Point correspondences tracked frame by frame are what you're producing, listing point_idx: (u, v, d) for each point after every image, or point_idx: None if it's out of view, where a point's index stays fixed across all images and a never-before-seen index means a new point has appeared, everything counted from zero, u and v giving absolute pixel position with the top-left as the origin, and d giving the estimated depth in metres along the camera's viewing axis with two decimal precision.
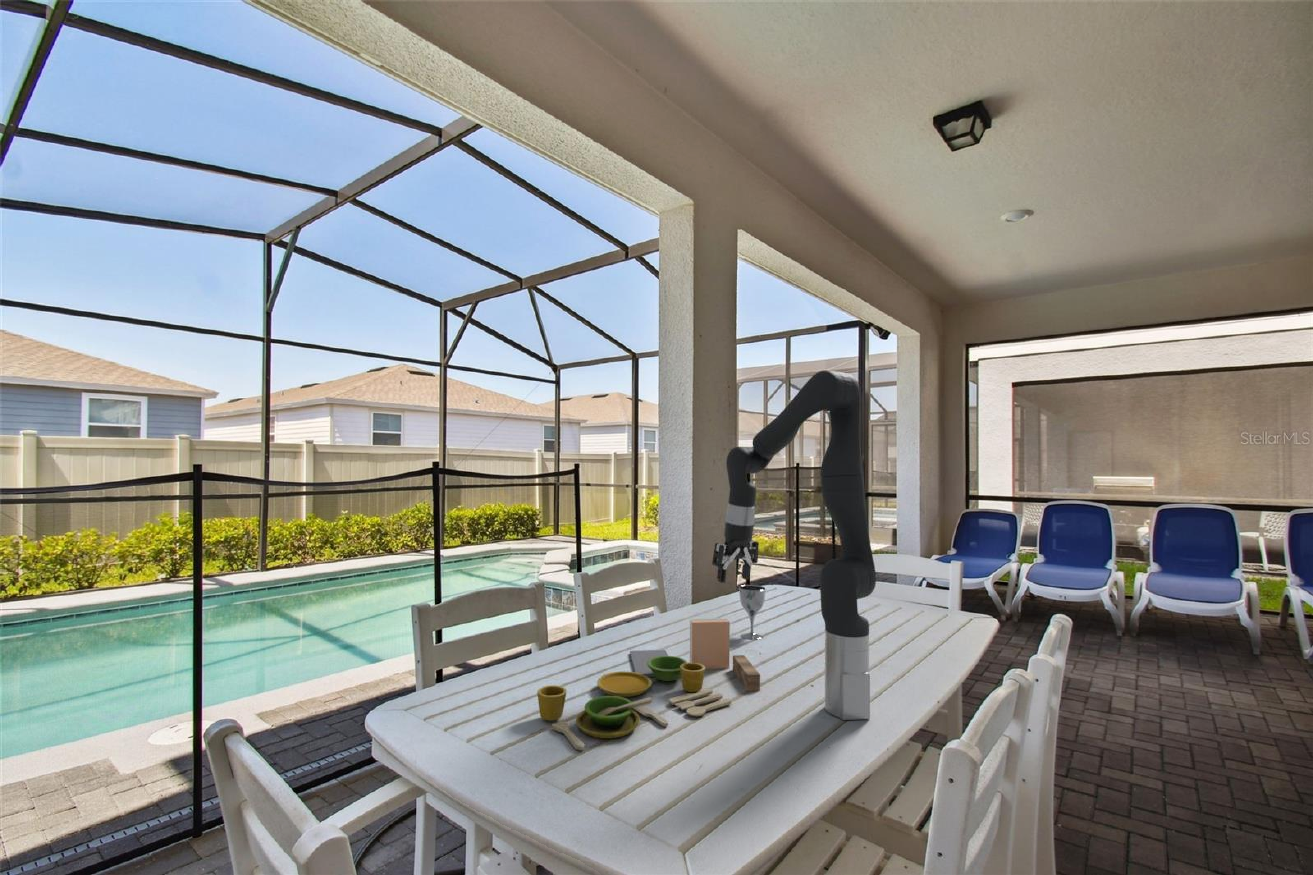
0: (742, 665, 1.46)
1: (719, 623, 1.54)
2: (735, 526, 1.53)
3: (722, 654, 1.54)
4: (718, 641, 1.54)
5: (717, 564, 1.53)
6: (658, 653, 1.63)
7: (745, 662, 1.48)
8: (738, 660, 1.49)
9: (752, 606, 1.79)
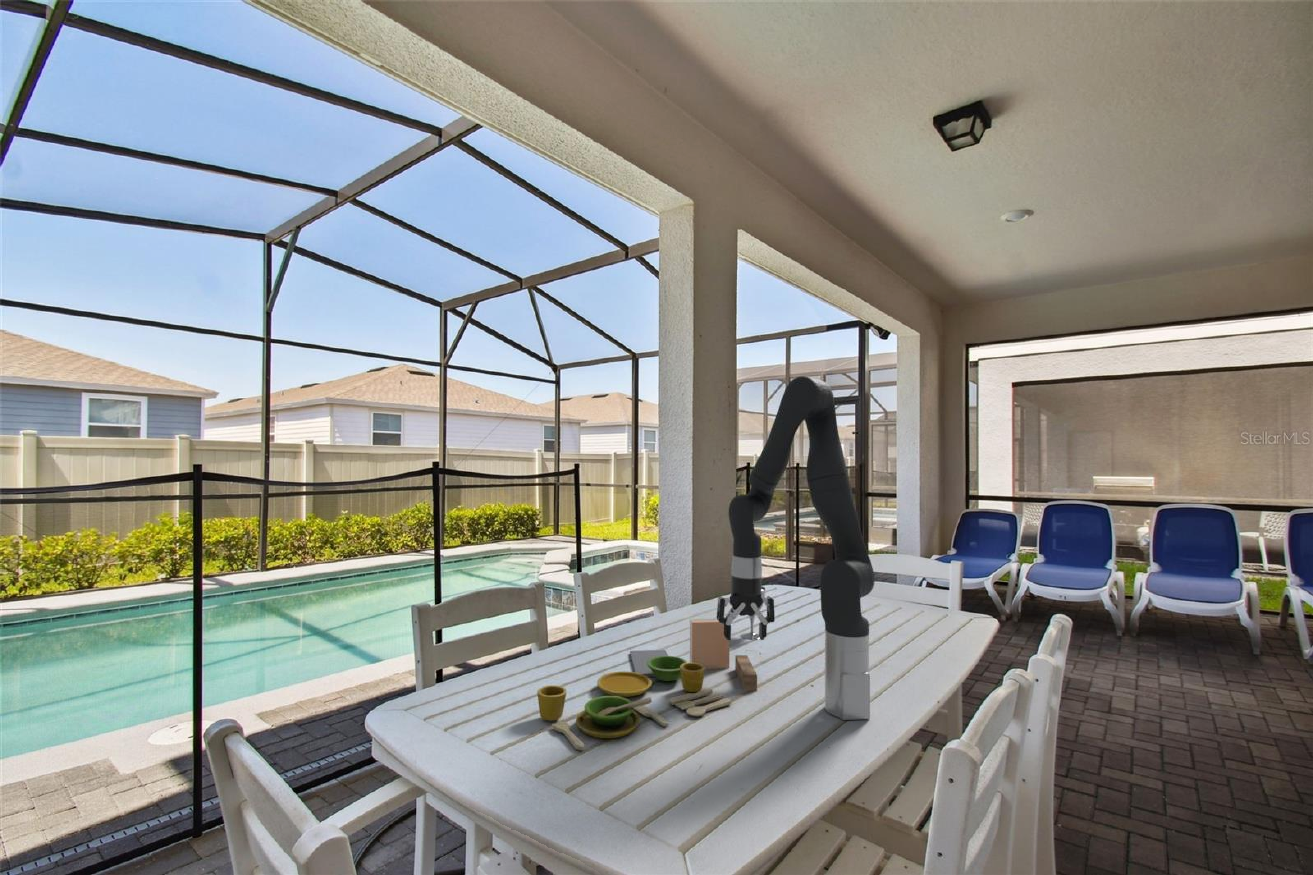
0: (742, 665, 1.46)
1: (719, 623, 1.54)
2: (736, 578, 1.45)
3: (722, 654, 1.54)
4: (718, 641, 1.54)
5: (718, 619, 1.45)
6: (658, 653, 1.63)
7: (745, 662, 1.47)
8: (739, 660, 1.49)
9: None
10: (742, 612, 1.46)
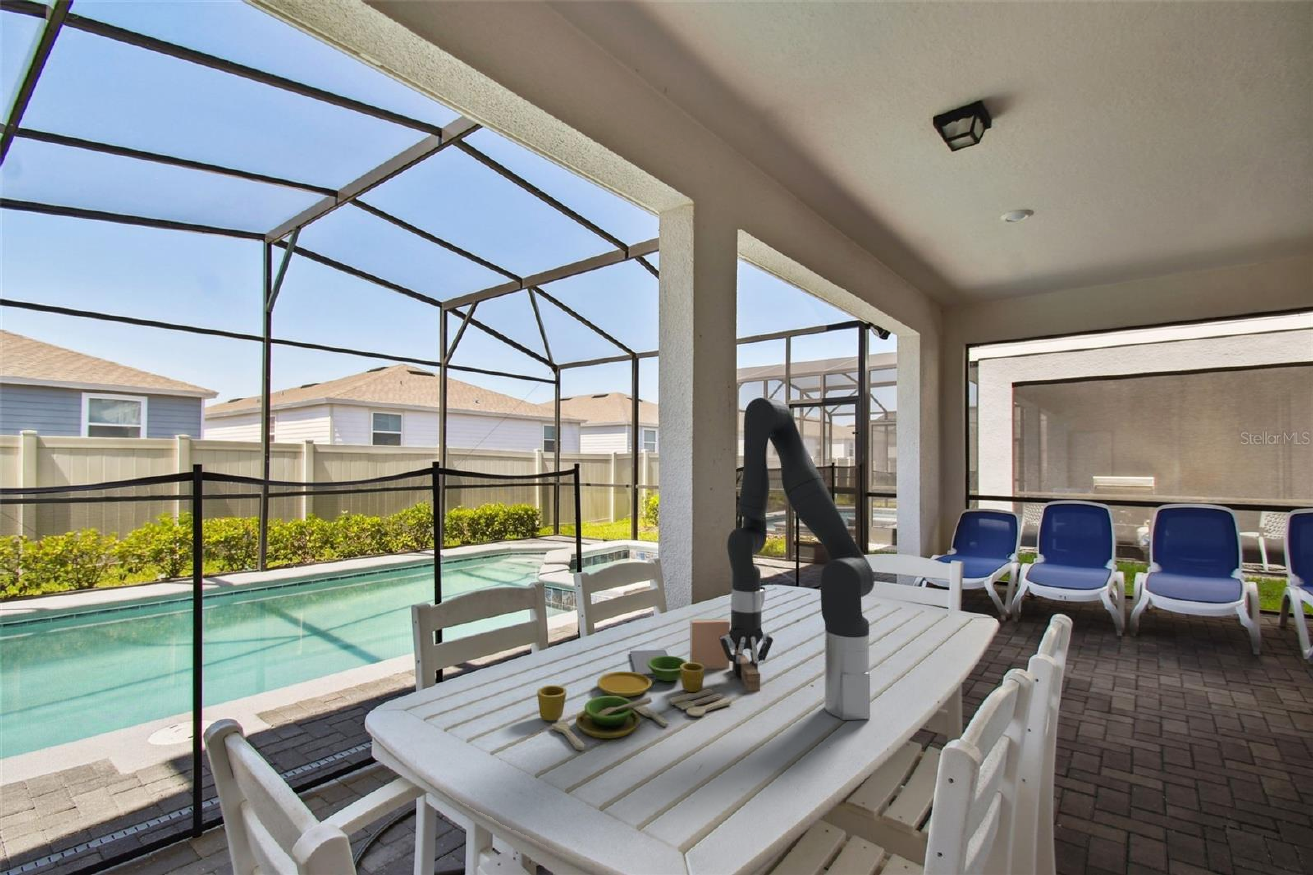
0: (742, 664, 1.46)
1: (719, 623, 1.54)
2: (735, 612, 1.44)
3: (722, 654, 1.54)
4: (718, 641, 1.54)
5: None
6: (658, 653, 1.63)
7: (745, 662, 1.48)
8: None
9: None
10: None
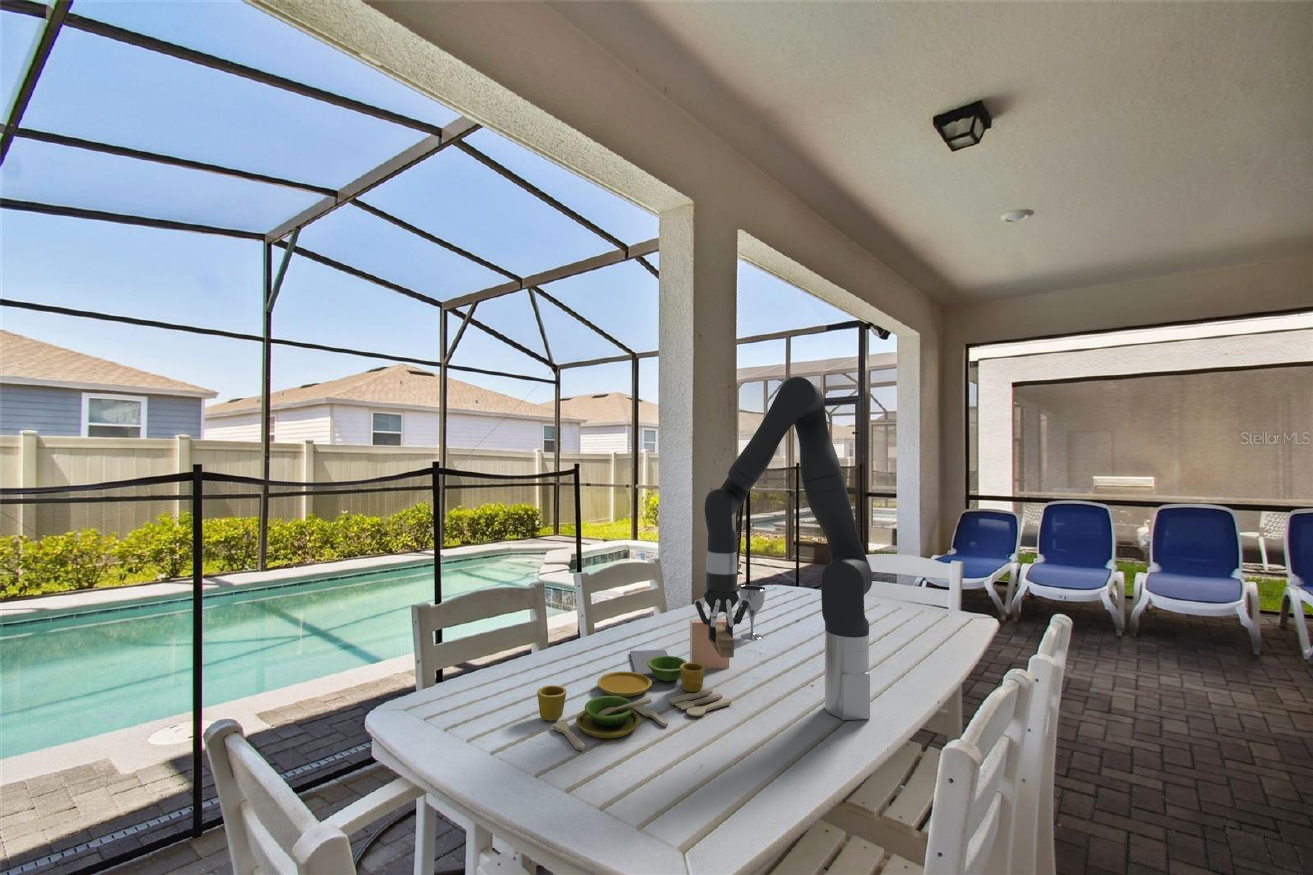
0: (717, 631, 1.43)
1: None
2: (710, 575, 1.42)
3: None
4: None
5: (702, 620, 1.42)
6: (658, 653, 1.63)
7: (720, 629, 1.45)
8: None
9: (752, 606, 1.79)
10: None
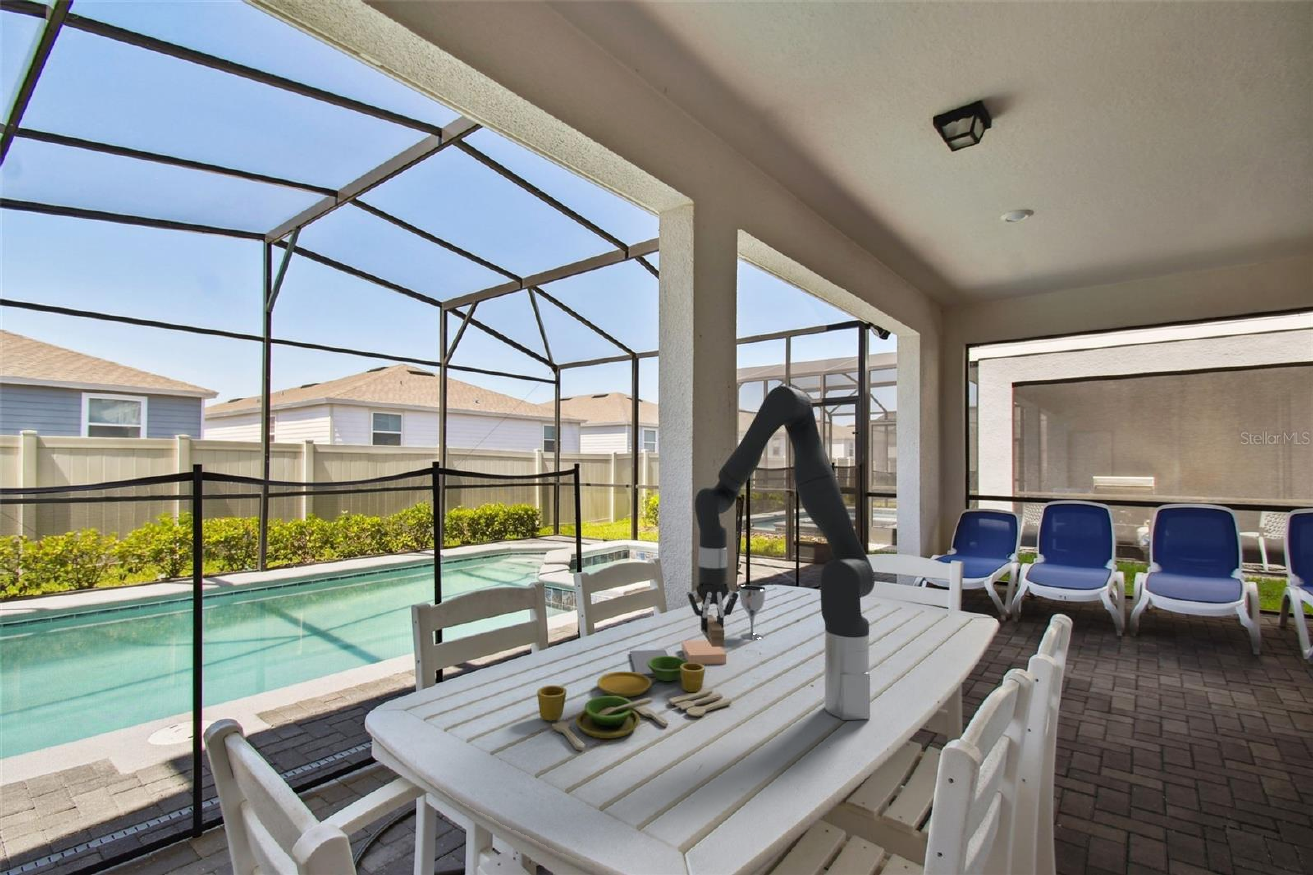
0: (708, 622, 1.52)
1: (707, 641, 1.69)
2: (702, 568, 1.51)
3: (716, 650, 1.61)
4: (710, 646, 1.64)
5: (695, 612, 1.51)
6: (658, 653, 1.63)
7: (711, 620, 1.54)
8: None
9: (752, 606, 1.79)
10: None
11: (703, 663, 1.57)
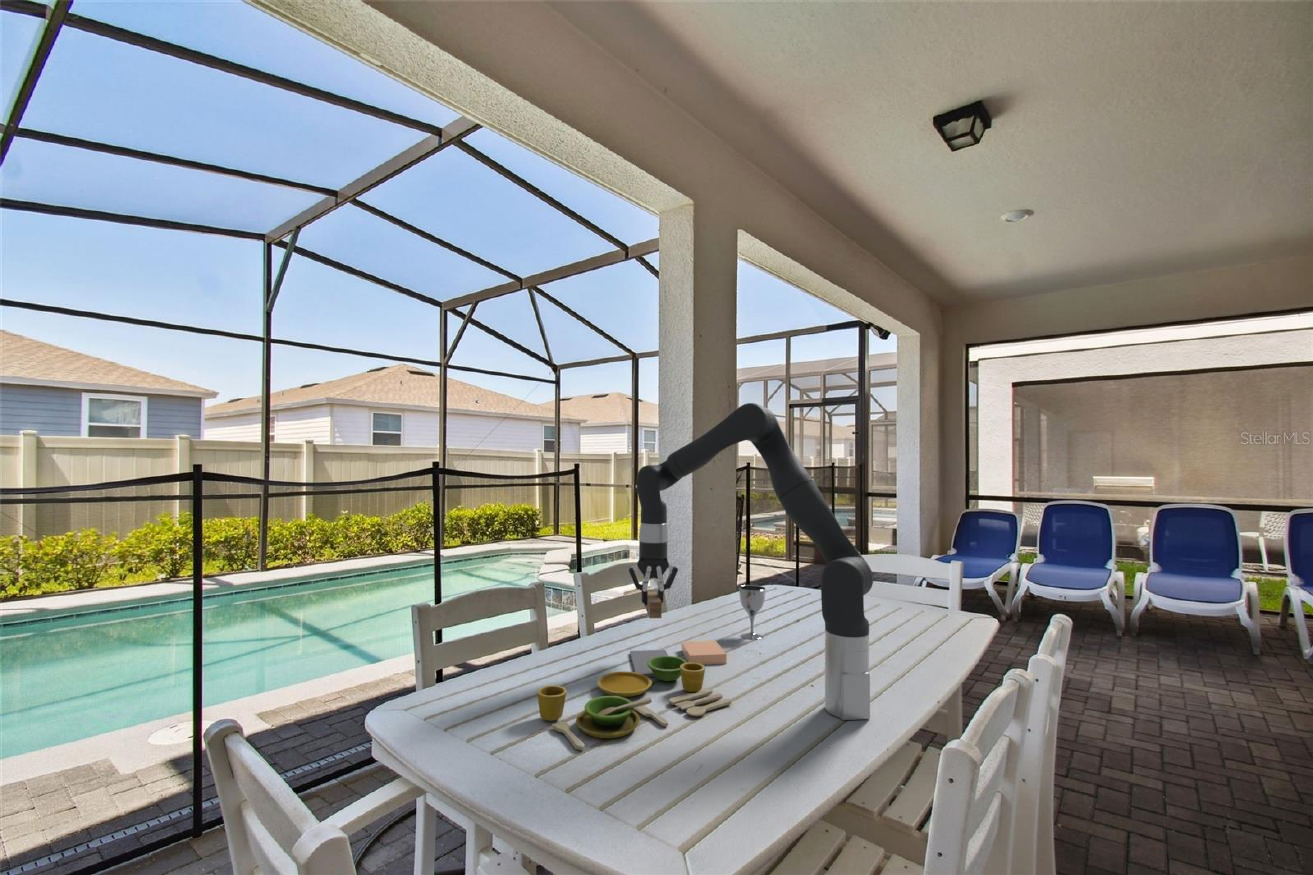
0: (649, 596, 1.56)
1: (706, 641, 1.69)
2: (642, 543, 1.55)
3: (716, 650, 1.61)
4: (710, 646, 1.64)
5: None
6: (658, 653, 1.63)
7: (652, 594, 1.58)
8: None
9: (752, 606, 1.79)
10: None
11: (703, 663, 1.57)
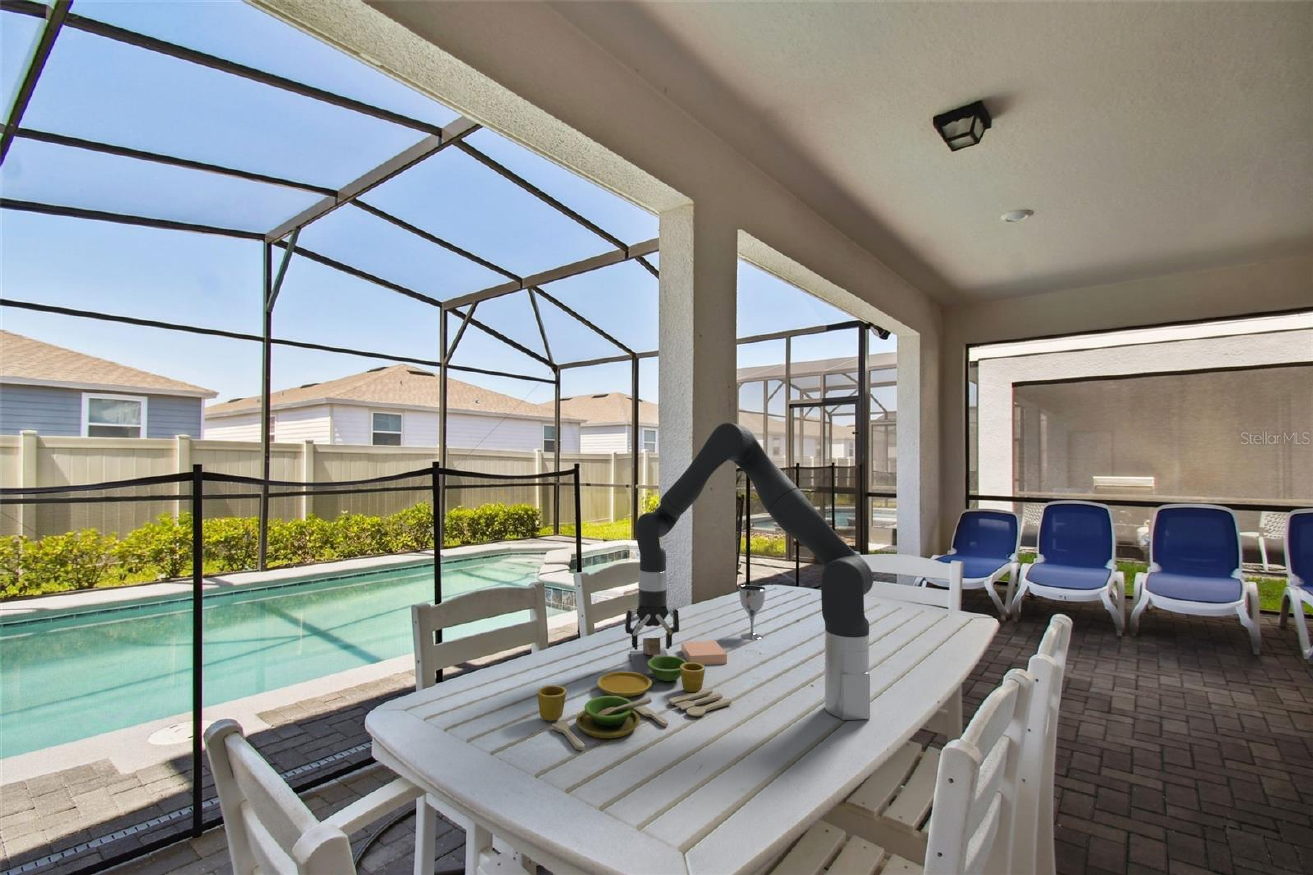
0: None
1: (706, 641, 1.69)
2: (641, 591, 1.55)
3: (717, 650, 1.61)
4: (710, 646, 1.64)
5: None
6: None
7: None
8: None
9: (752, 606, 1.79)
10: (648, 623, 1.55)
11: (704, 663, 1.56)
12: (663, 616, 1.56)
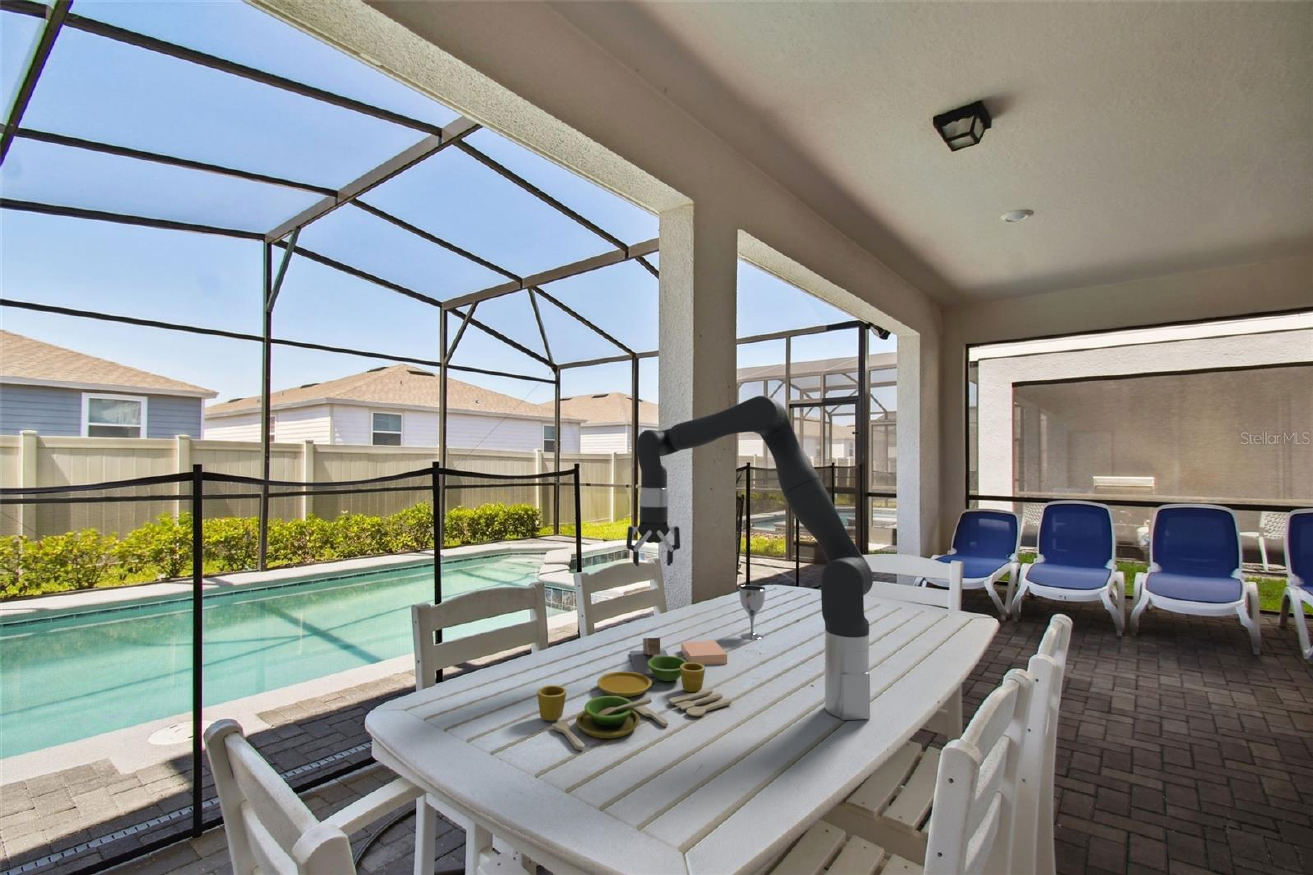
0: None
1: (706, 641, 1.68)
2: (642, 508, 1.55)
3: (717, 650, 1.61)
4: (710, 646, 1.64)
5: (627, 546, 1.56)
6: None
7: None
8: None
9: (752, 606, 1.79)
10: (649, 539, 1.56)
11: (704, 663, 1.56)
12: (664, 533, 1.57)
